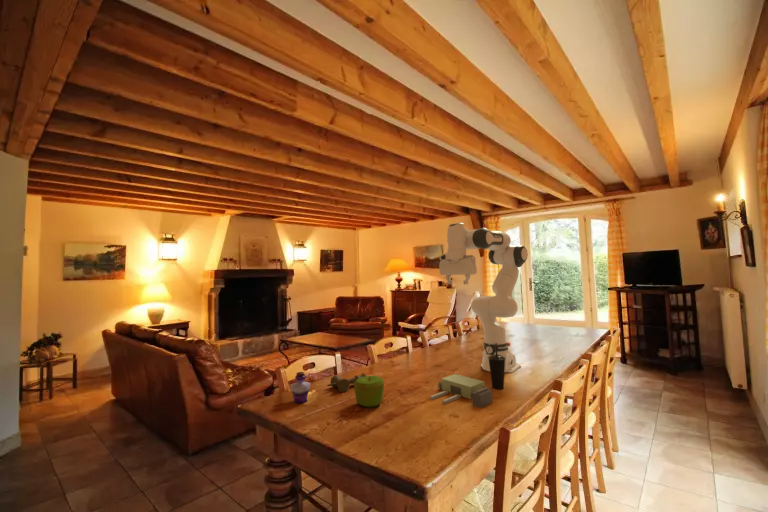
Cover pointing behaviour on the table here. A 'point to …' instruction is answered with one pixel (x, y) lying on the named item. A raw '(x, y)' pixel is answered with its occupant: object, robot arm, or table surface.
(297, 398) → the potion bottle
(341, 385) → the kendama
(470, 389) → the green block with prongs
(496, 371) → the drinking cup
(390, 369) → the table surface
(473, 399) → the dark grey block
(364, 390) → the apple
